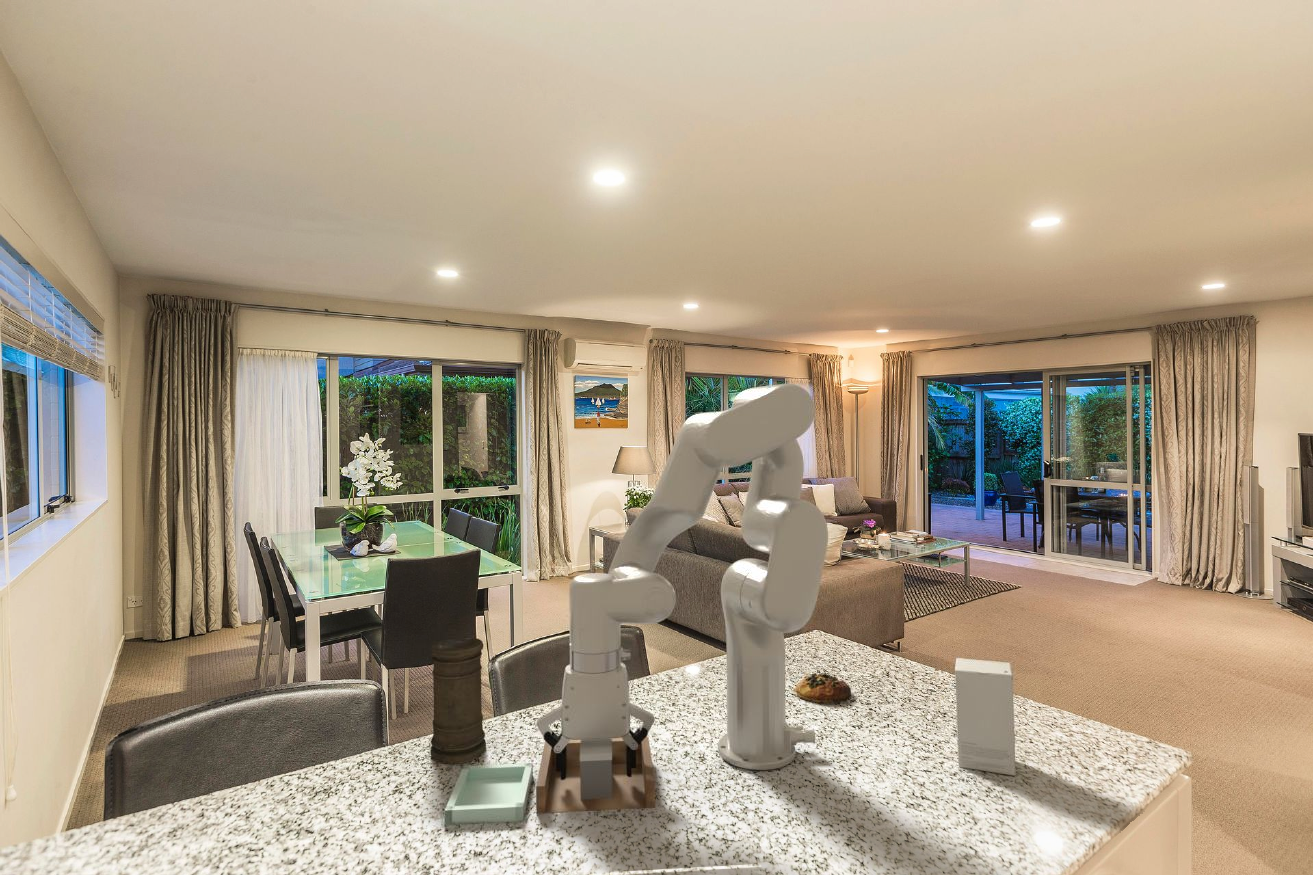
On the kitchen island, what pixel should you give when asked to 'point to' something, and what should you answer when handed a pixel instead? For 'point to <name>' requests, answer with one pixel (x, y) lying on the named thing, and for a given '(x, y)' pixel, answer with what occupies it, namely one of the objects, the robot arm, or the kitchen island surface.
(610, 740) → the off-white upright block
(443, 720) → the container
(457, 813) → the tray
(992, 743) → the skincare box
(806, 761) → the kitchen island surface
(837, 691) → the bread roll
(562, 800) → the bay
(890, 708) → the kitchen island surface
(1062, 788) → the kitchen island surface
